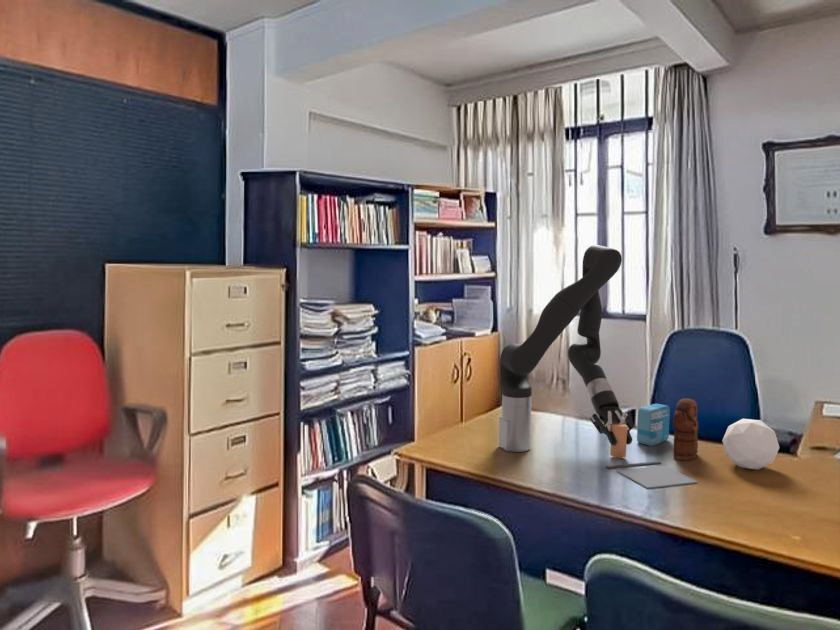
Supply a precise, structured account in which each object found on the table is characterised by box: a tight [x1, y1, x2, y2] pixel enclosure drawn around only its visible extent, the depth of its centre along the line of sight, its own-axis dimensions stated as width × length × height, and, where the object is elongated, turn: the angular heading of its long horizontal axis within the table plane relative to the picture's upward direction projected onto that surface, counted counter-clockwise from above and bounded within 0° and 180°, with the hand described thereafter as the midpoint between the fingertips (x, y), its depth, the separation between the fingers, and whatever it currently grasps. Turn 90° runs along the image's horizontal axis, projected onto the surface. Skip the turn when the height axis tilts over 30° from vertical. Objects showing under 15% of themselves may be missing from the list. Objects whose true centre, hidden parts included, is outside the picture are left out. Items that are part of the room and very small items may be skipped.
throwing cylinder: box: [609, 423, 627, 458], centre depth 202 cm, size 5×5×9 cm
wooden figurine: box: [672, 397, 700, 461], centre depth 204 cm, size 12×6×18 cm, turn 146°
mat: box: [605, 460, 699, 490], centre depth 187 cm, size 18×18×1 cm
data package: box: [636, 403, 671, 447], centre depth 219 cm, size 12×4×12 cm, turn 129°
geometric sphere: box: [722, 418, 780, 471], centre depth 194 cm, size 14×15×15 cm
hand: (622, 443), depth 200 cm, fingers closed on throwing cylinder, 4 cm apart
